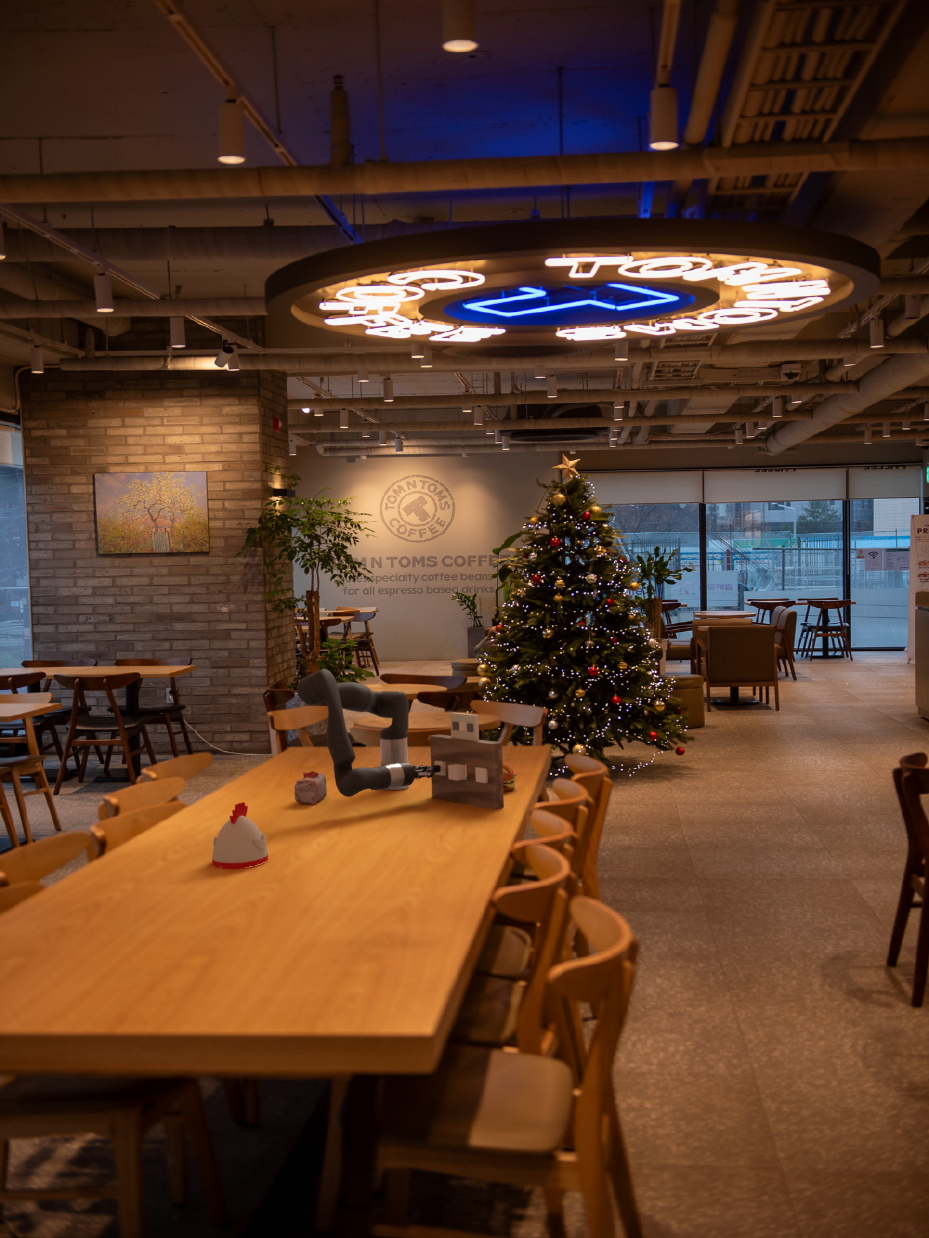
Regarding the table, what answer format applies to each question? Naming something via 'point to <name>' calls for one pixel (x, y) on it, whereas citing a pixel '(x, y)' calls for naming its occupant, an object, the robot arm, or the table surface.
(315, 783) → the food item
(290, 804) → the table surface
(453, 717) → the pattern sign
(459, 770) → the middle button
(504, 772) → the cheeseburger
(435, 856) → the table surface
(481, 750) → the console
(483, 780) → the right button
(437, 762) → the left button
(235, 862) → the kitchen timer
